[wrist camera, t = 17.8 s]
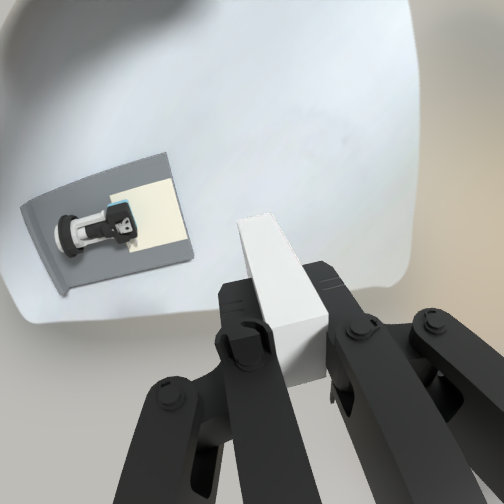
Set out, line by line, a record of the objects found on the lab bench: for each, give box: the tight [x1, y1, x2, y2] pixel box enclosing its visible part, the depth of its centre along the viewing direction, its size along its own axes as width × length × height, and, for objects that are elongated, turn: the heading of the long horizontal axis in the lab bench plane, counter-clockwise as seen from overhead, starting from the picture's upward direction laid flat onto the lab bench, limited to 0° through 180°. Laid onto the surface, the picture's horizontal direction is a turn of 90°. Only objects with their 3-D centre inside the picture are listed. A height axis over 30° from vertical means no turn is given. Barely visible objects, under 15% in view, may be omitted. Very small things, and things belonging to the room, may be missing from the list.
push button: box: [54, 199, 138, 258], centre depth 32 cm, size 7×5×10 cm
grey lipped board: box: [20, 152, 194, 295], centre depth 34 cm, size 14×21×3 cm, turn 100°
